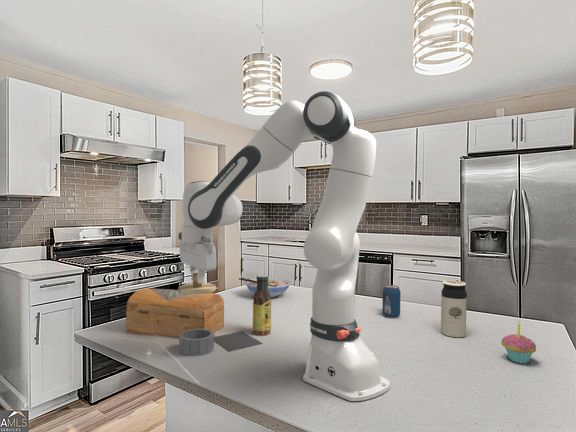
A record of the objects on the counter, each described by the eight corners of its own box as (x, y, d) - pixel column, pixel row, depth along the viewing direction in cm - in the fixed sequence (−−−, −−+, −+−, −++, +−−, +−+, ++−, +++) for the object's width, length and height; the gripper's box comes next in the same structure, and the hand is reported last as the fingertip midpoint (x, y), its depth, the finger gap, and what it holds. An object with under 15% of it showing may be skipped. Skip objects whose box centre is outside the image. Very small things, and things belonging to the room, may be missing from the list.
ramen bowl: (302, 296, 181) (302, 280, 181) (268, 305, 164) (268, 287, 164) (267, 288, 198) (267, 273, 198) (233, 296, 181) (233, 279, 181)
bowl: (219, 352, 111) (219, 335, 111) (186, 359, 105) (186, 342, 105) (206, 342, 119) (206, 326, 119) (175, 348, 114) (175, 332, 113)
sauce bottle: (268, 337, 124) (268, 278, 124) (250, 336, 125) (250, 277, 125) (273, 331, 130) (273, 274, 130) (255, 329, 132) (256, 273, 131)
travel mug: (442, 328, 135) (443, 279, 134) (466, 332, 131) (467, 281, 130) (439, 335, 128) (440, 283, 127) (464, 339, 124) (465, 285, 123)
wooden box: (226, 327, 135) (226, 289, 135) (203, 343, 119) (203, 300, 119) (155, 319, 144) (155, 283, 143) (125, 333, 128) (125, 293, 127)
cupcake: (536, 368, 102) (537, 325, 101) (500, 361, 106) (501, 320, 106) (535, 358, 109) (536, 317, 109) (501, 352, 113) (502, 312, 113)
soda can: (399, 314, 153) (399, 285, 152) (401, 319, 146) (401, 288, 146) (381, 313, 154) (382, 284, 154) (382, 318, 147) (383, 287, 147)
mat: (263, 344, 118) (263, 343, 118) (228, 353, 111) (228, 351, 111) (242, 332, 129) (242, 331, 129) (209, 339, 122) (209, 337, 122)
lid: (222, 291, 111) (222, 274, 111) (185, 296, 104) (185, 278, 104) (207, 284, 120) (207, 269, 120) (173, 288, 113) (173, 272, 113)
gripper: (222, 237, 105) (222, 286, 105) (195, 233, 122) (195, 275, 122) (200, 238, 101) (200, 289, 102) (176, 233, 118) (175, 277, 118)
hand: (197, 281), depth 112 cm, fingers closed on lid, 3 cm apart
